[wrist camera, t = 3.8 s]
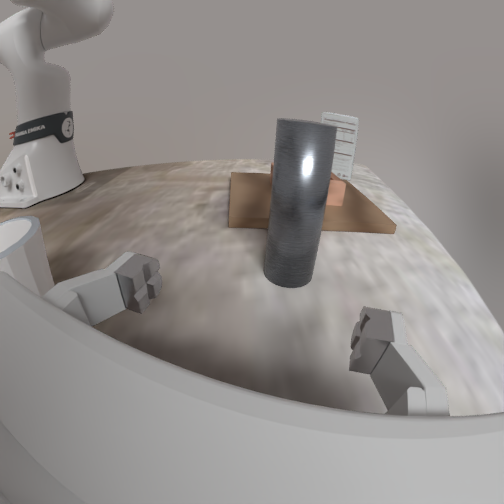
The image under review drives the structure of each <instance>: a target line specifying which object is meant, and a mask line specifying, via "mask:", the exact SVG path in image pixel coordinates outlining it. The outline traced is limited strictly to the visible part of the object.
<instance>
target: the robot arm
mask: <svg viewBox="0 0 504 504" xmlns="http://www.w3.org/2000/svg"><path fill="white" fill-rule="evenodd" d="M10 1H11V2H12V3H13V4H15V5H17V6H22V7H30V8H27V9H25V10H22V11H19V12H17V13H16V14H14V15H12V16H11V17H9V18H8V19H6V20H4V21H3V22H2V23H0V63H1V64H3V65H4V66H6V68H7V69H8V70H9V71H10V73H11V75H12V77H13V80H14V84H15V89H16V102H17V119H18V126H17V127H16V131H15V132H12V133H10V135H11V134H14V136H12V137H10V139H12V138H14V143H13V145H14V148H13V149H12V151H11V153H10V154H9V156H8V158H7V160H6V161H5V163H4V165H3V166H2V168H1V170H0V207H13V208H26V207H28V206H31V205H33V204H35V203H37V202H39V201H42V200H45V199H48V198H51V197H54V196H56V195H59V194H62V193H64V192H66V191H69V190H71V189H73V188H75V187H76V186H78V185H79V184H81V183H82V182H83V181H84V176H83V174H82V172H81V169H80V167H79V164H78V160H77V157H76V153H75V148H74V142H73V133H74V132H73V131H74V126H73V113H72V111H71V110H70V75H69V72H68V71H67V70H66V69H65V68H64V67H61V66H59V65H55V64H51V63H46V62H45V60H44V54H45V51H47V50H49V49H53V48H57V47H60V46H64V45H68V44H72V43H77V42H80V41H83V40H86V39H89V38H91V37H94V36H97V35H99V34H101V33H102V32H103V31H104V30H105V29H106V28H107V26H108V25H109V23H110V21H111V19H112V16H113V12H114V6H113V2H112V0H10ZM159 269H160V265H159V261H158V260H157V259H155V258H152V257H148V256H145V255H142V254H137V253H134V252H131V251H127V252H125V253H124V254H123V255H121V256H120V257H119V258H118V259H116V260H115V261H114V262H113V263H112V264H110V265H109V266H108V267H107V268H106V269H105V270H104V269H100V270H96V271H93V272H90V273H87V274H84V275H81V276H78V277H75V278H72V279H68V280H65V281H62V282H59V283H57V284H56V285H55V286H54V287H53V288H52V289H50V290H49V291H48V292H47V293H46V294H45V295H44V296H42V297H40V296H38V295H37V294H35V293H34V292H32V291H31V290H29V289H28V288H27V287H25V286H24V285H22V284H21V283H19V282H18V281H17V280H15V279H14V278H12V277H11V276H10V275H9V274H7V273H6V272H4V271H0V504H504V412H501V413H493V414H483V415H470V416H450V413H449V405H448V397H447V390H446V387H445V386H444V385H443V384H442V382H441V381H440V380H439V379H438V377H437V376H436V375H435V374H434V372H433V371H432V370H431V369H430V367H429V366H428V365H427V364H426V362H425V361H424V360H423V359H422V357H421V356H420V355H419V354H418V353H417V351H416V350H415V349H414V348H413V347H412V345H408V342H407V336H406V330H405V324H404V319H403V314H402V313H401V312H395V311H387V310H381V309H376V308H370V307H365V306H364V307H363V308H362V310H361V313H360V321H359V322H357V323H356V325H355V327H354V330H353V334H352V338H351V349H352V350H353V351H352V353H351V355H350V365H349V371H354V372H359V373H365V374H370V376H371V378H372V380H373V382H374V384H375V386H376V388H377V390H378V392H379V394H380V396H381V398H382V400H383V402H384V404H385V406H386V408H387V410H388V411H387V412H386V413H385V414H376V413H366V412H358V411H350V410H343V409H336V408H330V407H324V406H319V405H313V404H308V403H303V402H298V401H293V400H289V399H284V398H280V397H276V396H272V395H268V394H264V393H260V392H256V391H252V390H249V389H245V388H242V387H238V386H235V385H231V384H228V383H225V382H222V381H219V380H216V379H213V378H210V377H207V376H204V375H201V374H198V373H195V372H192V371H190V370H187V369H184V368H181V367H179V366H176V365H174V364H171V363H169V362H166V361H164V360H161V359H159V358H156V357H154V356H152V355H149V354H147V353H145V352H142V351H140V350H138V349H136V348H133V347H131V346H129V345H127V344H125V343H123V342H121V341H118V340H116V339H114V338H112V337H110V336H108V335H106V334H104V333H102V332H100V331H98V330H97V329H95V328H93V327H92V326H94V325H96V324H98V323H100V322H102V321H104V320H106V319H108V318H110V317H111V316H113V315H115V314H117V313H119V312H121V311H123V310H125V309H129V310H132V311H135V312H138V313H140V314H142V313H143V312H144V310H145V309H146V308H147V307H148V306H149V305H150V299H153V298H155V297H156V296H157V295H158V294H159V293H160V290H161V287H162V277H161V275H160V274H159V272H158V270H159Z"/></svg>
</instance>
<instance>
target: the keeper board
mask: <svg viewBox="0 0 504 504" xmlns="http://www.w3.org/2000/svg"><path fill="white" fill-rule="evenodd" d="M273 166H274V163H271V174H264V173H236V172H231V186H230V206H229V228H268V223H269V212H270V201H271V190H272V178H273ZM396 226H397V225H396V224H395V223H394V222H393V221H392V220H391V219H390V218H389V217H388V216H386V215H385V214H384V213H383V212H382V211H381V210H380V209H379V208H378V207H377V206H376V205H375V204H373V203H372V202H371V201H370V200H369V199H368V198H367V197H366V196H364V195H363V194H362V193H361V192H360V191H359V190H357V189H356V188H355V187H354V186H353V185H352V184H350V183H349V182H348V181H347V180H342V179H340V178H339V177H337V176H336V175H335V174H334V173H333V172H331V178H330V184H329V190H328V196H327V202H326V208H325V214H324V219H323V225H322V230H327V231H350V232H369V233H388V234H394V233H395V229H396Z"/></svg>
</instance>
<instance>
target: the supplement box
mask: <svg viewBox="0 0 504 504" xmlns="http://www.w3.org/2000/svg"><path fill="white" fill-rule="evenodd" d="M321 123H325V124H329V125H334V126H337V134H336V142H335V150H334V157H333V164H332V171H331V172H333V173H334V174H335V175H336V176H337V177H339V178H340V179H345V180H350V179H351V175H352V169H353V163H354V156H355V150H356V142H357V134H358V124H359V119H358V118H356V117H351V116H346V115H341V114H335V113H327V112H322V116H321Z"/></svg>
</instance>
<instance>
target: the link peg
mask: <svg viewBox="0 0 504 504" xmlns="http://www.w3.org/2000/svg"><path fill="white" fill-rule="evenodd" d="M336 134H337V126H334V125H329V124H325V123H318V122H312V121H305V120H297V119H282V118H279V119H277V129H276V142H275V155H274V166H273V178H272V190H271V201H270V212H269V223H268V234H267V245H266V255H265V266H264V274H265V276H266V278H267V279H268V280H269V281H271V282H272V283H274V284H276V285H278V286H282V287H287V288H297V287H302V286H304V285H306V284H308V283H309V282H310V281H311V279H312V274H313V270H314V265H315V260H316V256H317V251H318V246H319V241H320V235H321V230H322V225H323V219H324V214H325V208H326V202H327V196H328V190H329V184H330V178H331V171H332V164H333V157H334V150H335V142H336Z"/></svg>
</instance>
